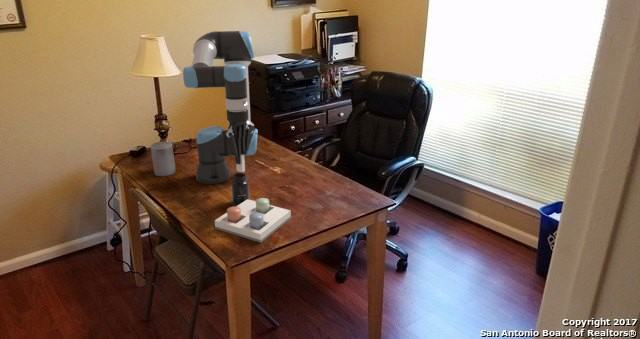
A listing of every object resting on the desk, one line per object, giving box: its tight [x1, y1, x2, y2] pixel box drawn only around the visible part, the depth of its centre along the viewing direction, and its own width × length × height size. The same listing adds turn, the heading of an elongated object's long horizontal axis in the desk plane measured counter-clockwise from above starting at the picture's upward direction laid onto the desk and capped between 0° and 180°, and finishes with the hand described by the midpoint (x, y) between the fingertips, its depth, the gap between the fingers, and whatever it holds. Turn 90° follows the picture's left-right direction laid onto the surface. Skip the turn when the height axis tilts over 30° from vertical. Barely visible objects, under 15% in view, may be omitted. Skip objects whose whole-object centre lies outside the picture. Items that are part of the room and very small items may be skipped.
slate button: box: [249, 213, 264, 229], centre depth 166 cm, size 5×5×4 cm
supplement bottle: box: [230, 172, 250, 206], centre depth 188 cm, size 7×7×12 cm
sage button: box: [255, 197, 270, 213], centre depth 177 cm, size 5×5×4 cm
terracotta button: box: [226, 206, 241, 223], centre depth 170 cm, size 5×5×4 cm
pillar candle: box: [149, 141, 177, 177], centre depth 215 cm, size 10×10×15 cm
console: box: [214, 198, 292, 244], centre depth 173 cm, size 20×20×3 cm
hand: (240, 171), depth 173 cm, fingers closed
